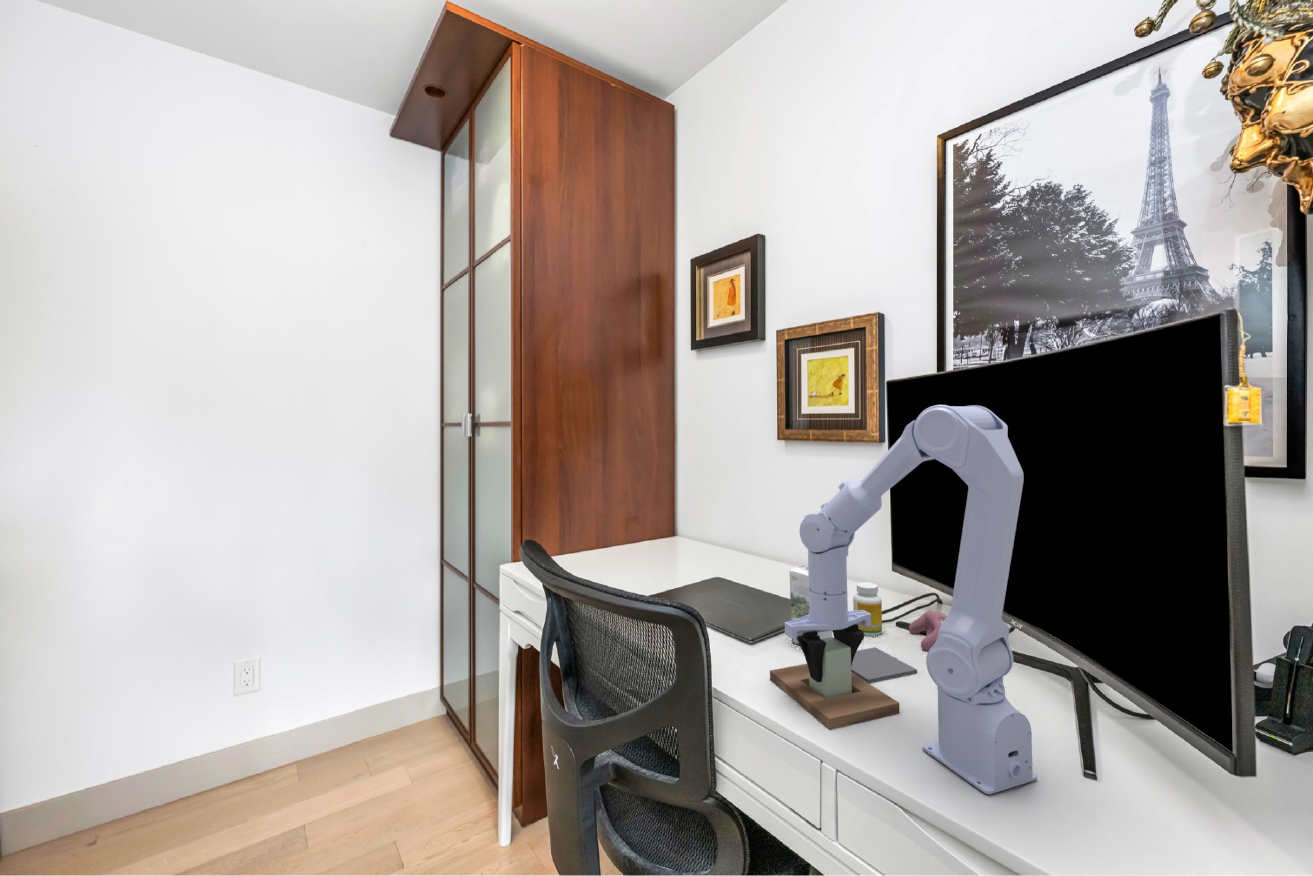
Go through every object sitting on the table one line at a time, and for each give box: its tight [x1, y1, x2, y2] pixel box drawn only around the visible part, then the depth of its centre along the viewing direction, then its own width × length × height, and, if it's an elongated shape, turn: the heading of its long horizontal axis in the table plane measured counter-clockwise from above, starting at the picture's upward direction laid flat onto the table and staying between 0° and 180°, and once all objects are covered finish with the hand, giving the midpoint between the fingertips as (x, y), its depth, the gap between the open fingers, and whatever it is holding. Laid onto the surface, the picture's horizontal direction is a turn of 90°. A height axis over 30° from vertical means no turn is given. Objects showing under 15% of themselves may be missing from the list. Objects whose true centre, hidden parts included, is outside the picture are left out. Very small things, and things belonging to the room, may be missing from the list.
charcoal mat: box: [851, 646, 918, 684], centre depth 93 cm, size 10×10×1 cm
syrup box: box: [788, 564, 833, 646], centre depth 103 cm, size 6×6×14 cm
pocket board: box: [769, 663, 901, 731], centre depth 83 cm, size 16×12×2 cm
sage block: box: [809, 636, 852, 699], centre depth 83 cm, size 4×4×8 cm
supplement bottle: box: [852, 581, 883, 637], centre depth 108 cm, size 5×5×10 cm
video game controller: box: [908, 608, 948, 652], centre depth 102 cm, size 10×5×7 cm, turn 169°
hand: (829, 676), depth 83 cm, fingers closed on sage block, 4 cm apart
